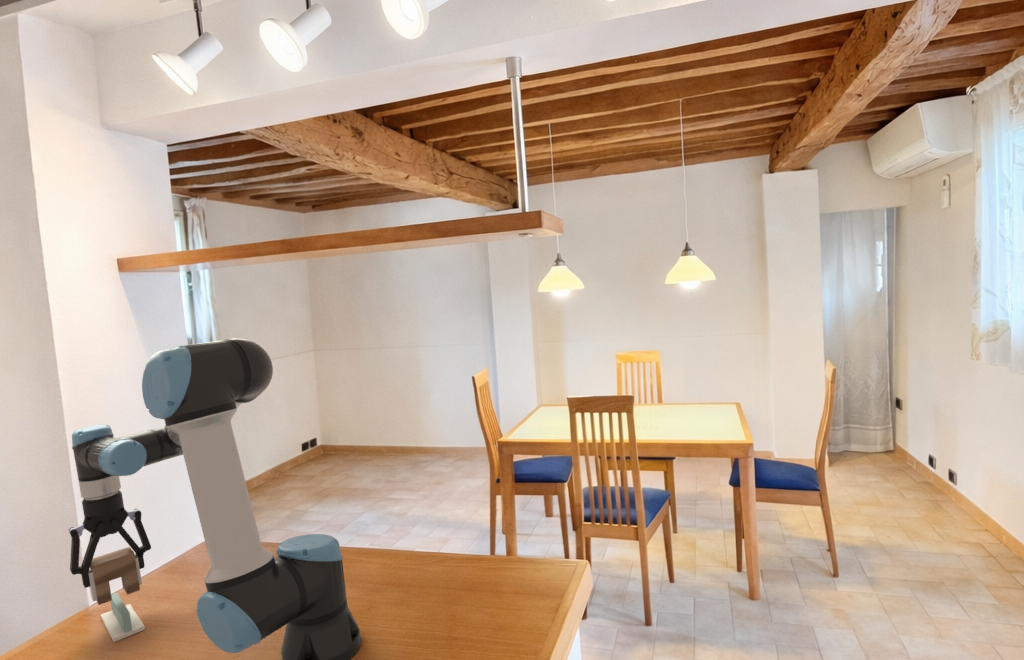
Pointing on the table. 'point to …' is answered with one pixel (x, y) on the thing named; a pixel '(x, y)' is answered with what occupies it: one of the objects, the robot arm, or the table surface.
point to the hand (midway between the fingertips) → (117, 590)
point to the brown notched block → (114, 573)
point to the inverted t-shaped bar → (121, 619)
